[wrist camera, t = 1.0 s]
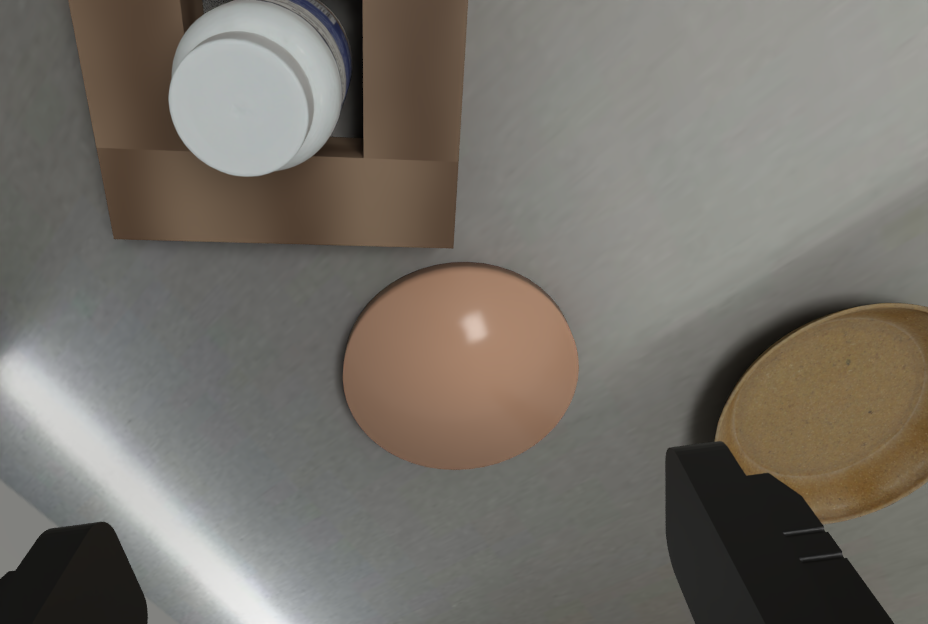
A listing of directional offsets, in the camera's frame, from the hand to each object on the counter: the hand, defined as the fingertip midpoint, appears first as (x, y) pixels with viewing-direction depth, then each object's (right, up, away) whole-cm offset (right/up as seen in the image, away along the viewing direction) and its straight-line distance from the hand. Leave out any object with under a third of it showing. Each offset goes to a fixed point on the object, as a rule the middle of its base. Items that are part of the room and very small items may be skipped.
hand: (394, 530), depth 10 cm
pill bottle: (-6, +14, +19) cm, 24 cm away
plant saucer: (+22, -2, +30) cm, 37 cm away
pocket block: (-6, +14, +19) cm, 24 cm away
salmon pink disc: (+1, 0, +26) cm, 27 cm away
